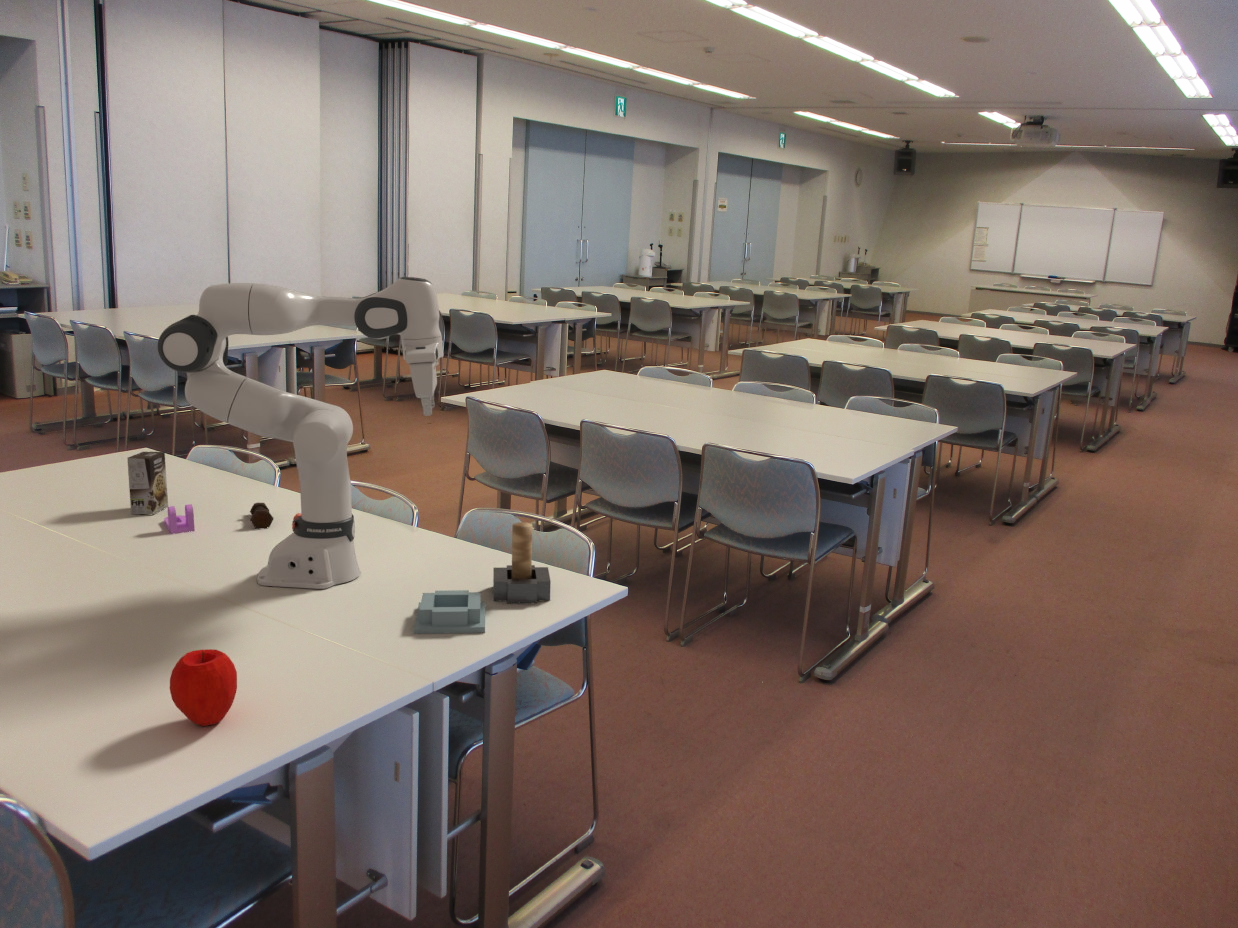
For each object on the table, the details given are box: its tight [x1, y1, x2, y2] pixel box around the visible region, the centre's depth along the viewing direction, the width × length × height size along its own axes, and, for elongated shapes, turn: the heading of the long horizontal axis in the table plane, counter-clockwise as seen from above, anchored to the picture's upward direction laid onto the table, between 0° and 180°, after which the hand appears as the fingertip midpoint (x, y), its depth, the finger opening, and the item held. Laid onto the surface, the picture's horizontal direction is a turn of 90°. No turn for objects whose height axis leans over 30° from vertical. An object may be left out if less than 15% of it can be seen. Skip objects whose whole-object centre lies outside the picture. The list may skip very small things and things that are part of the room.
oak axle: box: [511, 521, 533, 579], centre depth 210 cm, size 4×4×16 cm
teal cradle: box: [413, 589, 486, 635], centre depth 195 cm, size 14×14×4 cm
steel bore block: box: [492, 564, 552, 605], centre depth 212 cm, size 12×12×4 cm
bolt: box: [249, 502, 274, 529], centre depth 258 cm, size 6×5×15 cm
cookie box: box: [127, 451, 169, 516], centre depth 262 cm, size 9×6×16 cm
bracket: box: [163, 503, 196, 535], centre depth 250 cm, size 13×6×7 cm, turn 34°
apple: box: [169, 648, 238, 727], centre depth 150 cm, size 10×10×12 cm
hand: (429, 411), depth 213 cm, fingers open, 8 cm apart
